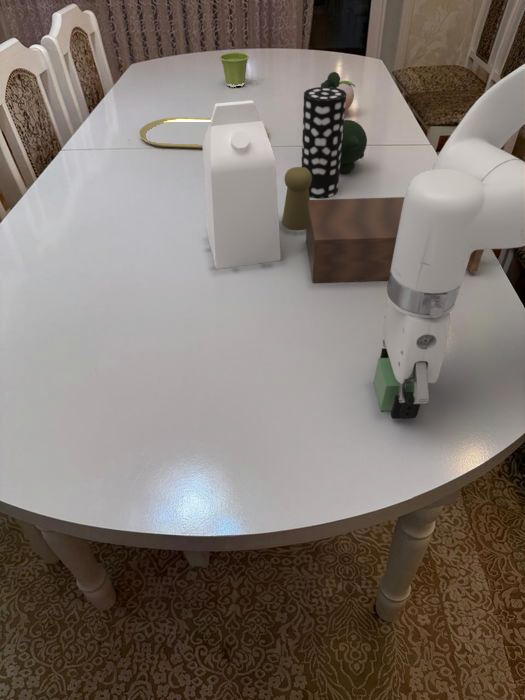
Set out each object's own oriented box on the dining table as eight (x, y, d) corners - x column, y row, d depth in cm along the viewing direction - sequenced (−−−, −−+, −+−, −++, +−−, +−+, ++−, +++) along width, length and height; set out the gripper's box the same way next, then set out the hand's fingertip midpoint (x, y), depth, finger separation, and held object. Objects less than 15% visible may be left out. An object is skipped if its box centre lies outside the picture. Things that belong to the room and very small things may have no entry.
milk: (266, 228, 100) (264, 88, 82) (280, 260, 92) (281, 112, 73) (207, 236, 98) (191, 95, 80) (216, 269, 90) (200, 120, 72)
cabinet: (396, 238, 96) (404, 196, 90) (413, 280, 86) (423, 236, 80) (305, 241, 96) (307, 199, 90) (312, 283, 86) (314, 240, 80)
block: (409, 382, 69) (416, 356, 66) (417, 410, 66) (425, 384, 62) (373, 383, 69) (378, 357, 66) (380, 411, 66) (386, 386, 62)
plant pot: (254, 82, 168) (253, 53, 162) (242, 91, 162) (240, 61, 156) (229, 79, 171) (228, 51, 165) (217, 88, 165) (214, 58, 159)
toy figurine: (307, 150, 131) (333, 184, 112) (309, 69, 119) (338, 91, 100) (342, 147, 132) (374, 180, 113) (347, 66, 120) (383, 88, 101)
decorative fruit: (326, 122, 141) (328, 83, 134) (317, 112, 146) (319, 75, 140) (357, 118, 142) (361, 80, 135) (347, 109, 148) (350, 72, 141)
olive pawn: (278, 227, 100) (278, 174, 92) (287, 213, 104) (288, 161, 96) (306, 232, 98) (309, 179, 91) (315, 217, 102) (318, 165, 95)
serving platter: (262, 153, 126) (262, 146, 125) (130, 148, 130) (129, 142, 129) (271, 125, 140) (271, 120, 138) (152, 122, 144) (151, 116, 143)
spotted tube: (345, 191, 110) (355, 94, 96) (316, 202, 107) (321, 103, 93) (321, 178, 115) (327, 84, 102) (293, 187, 112) (295, 92, 98)
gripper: (483, 339, 48) (442, 445, 61) (435, 243, 61) (408, 346, 73) (406, 341, 48) (380, 447, 61) (374, 244, 61) (357, 348, 73)
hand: (396, 391), depth 67 cm, fingers open, 7 cm apart
